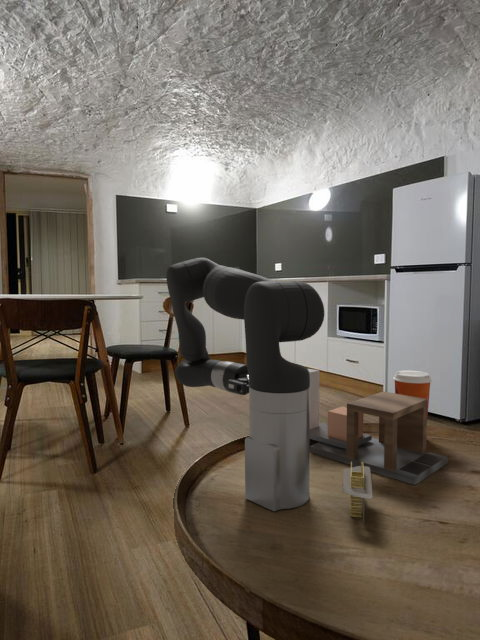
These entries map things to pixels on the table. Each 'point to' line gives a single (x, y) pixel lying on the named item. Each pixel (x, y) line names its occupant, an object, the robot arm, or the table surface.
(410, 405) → the tunnel
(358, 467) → the yellow ladder
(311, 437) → the sled
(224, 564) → the table surface
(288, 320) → the robot arm
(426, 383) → the paper cup
